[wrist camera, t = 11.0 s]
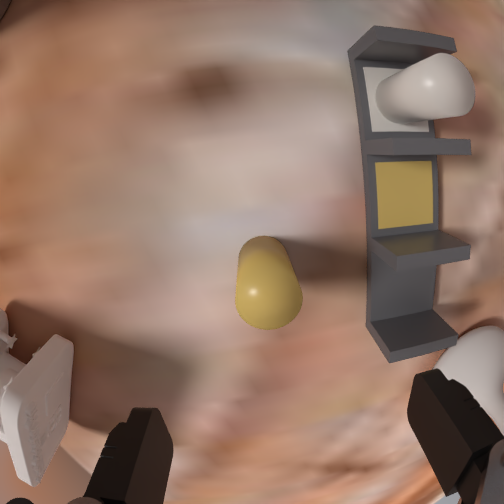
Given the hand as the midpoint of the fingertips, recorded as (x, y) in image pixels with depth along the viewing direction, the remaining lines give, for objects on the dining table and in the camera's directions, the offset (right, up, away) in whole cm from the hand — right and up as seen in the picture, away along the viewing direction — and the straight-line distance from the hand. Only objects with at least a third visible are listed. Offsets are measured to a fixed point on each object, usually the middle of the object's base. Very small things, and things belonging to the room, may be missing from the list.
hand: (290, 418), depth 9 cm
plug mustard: (0, +4, +15) cm, 16 cm away
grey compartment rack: (+10, +10, +14) cm, 20 cm away
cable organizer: (-24, -7, +18) cm, 31 cm away
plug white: (+9, +16, +11) cm, 21 cm away
